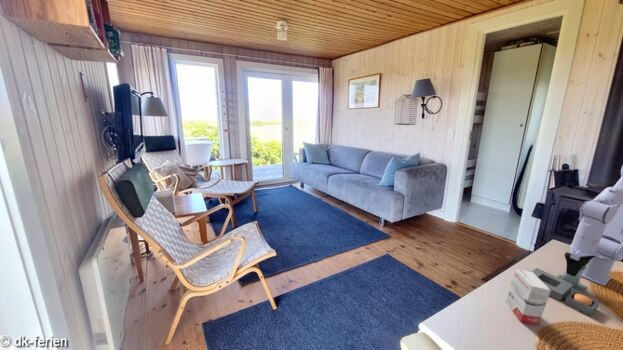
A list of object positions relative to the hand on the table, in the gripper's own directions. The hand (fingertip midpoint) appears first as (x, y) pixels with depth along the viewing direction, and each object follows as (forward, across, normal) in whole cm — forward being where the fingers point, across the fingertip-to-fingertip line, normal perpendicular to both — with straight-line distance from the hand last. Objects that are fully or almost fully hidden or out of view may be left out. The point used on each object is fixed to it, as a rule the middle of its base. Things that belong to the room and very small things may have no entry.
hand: (573, 272), depth 89 cm
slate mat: (+5, 0, 0) cm, 5 cm away
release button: (+4, -11, -5) cm, 13 cm away
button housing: (+5, -11, -6) cm, 13 cm away
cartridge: (+5, 0, 0) cm, 5 cm away
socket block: (+5, -9, +4) cm, 11 cm away
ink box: (+5, -31, +2) cm, 32 cm away
